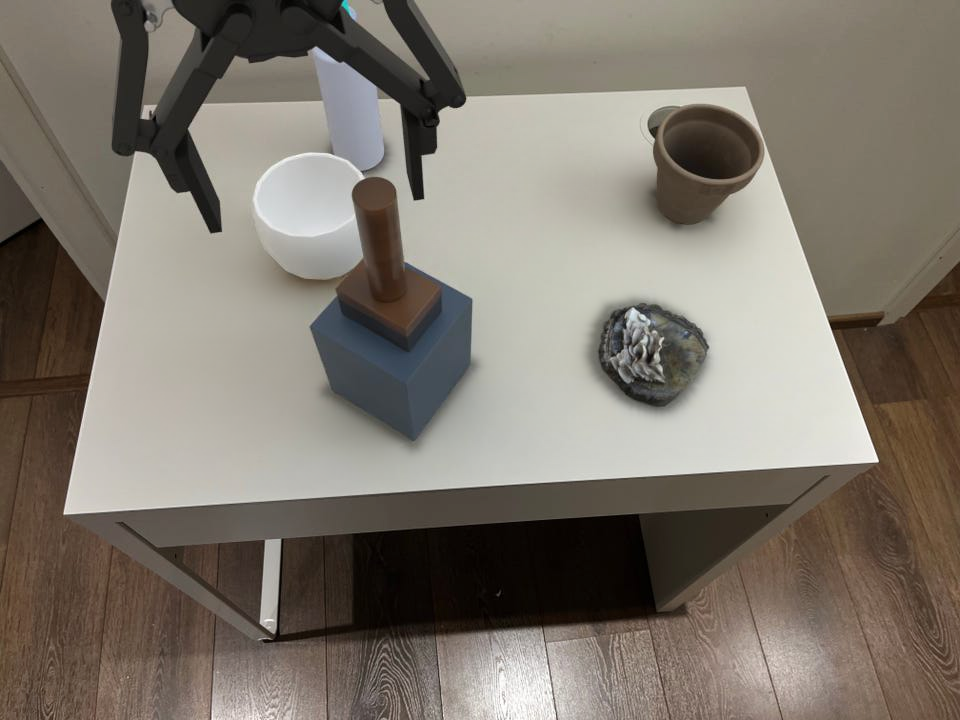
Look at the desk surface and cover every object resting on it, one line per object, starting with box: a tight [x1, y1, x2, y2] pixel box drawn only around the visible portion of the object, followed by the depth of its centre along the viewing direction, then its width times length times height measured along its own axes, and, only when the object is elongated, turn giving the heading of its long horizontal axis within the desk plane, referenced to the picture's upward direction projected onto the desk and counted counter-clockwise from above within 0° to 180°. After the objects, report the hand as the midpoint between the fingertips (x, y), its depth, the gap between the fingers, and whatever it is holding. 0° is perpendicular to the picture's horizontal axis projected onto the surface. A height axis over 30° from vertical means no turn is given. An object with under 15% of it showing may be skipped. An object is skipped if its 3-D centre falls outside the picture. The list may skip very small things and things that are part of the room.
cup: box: [251, 151, 365, 281], centre depth 73 cm, size 12×12×10 cm
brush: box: [334, 176, 442, 352], centre depth 53 cm, size 7×5×15 cm
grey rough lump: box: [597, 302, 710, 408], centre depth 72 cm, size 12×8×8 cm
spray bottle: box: [311, 0, 385, 172], centre depth 75 cm, size 6×6×22 cm
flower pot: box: [652, 103, 766, 225], centre depth 78 cm, size 12×11×10 cm
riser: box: [309, 261, 474, 441], centre depth 65 cm, size 10×10×12 cm
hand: (317, 201), depth 48 cm, fingers open, 13 cm apart
